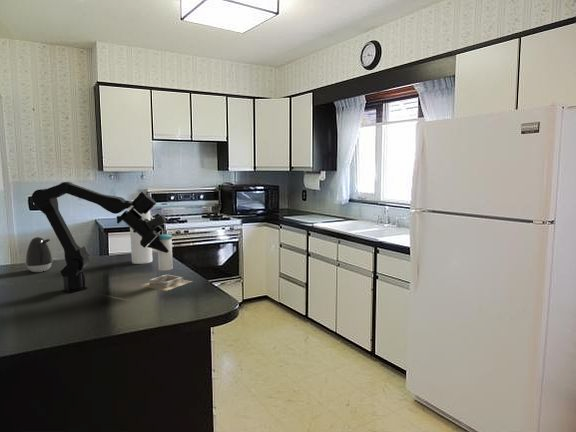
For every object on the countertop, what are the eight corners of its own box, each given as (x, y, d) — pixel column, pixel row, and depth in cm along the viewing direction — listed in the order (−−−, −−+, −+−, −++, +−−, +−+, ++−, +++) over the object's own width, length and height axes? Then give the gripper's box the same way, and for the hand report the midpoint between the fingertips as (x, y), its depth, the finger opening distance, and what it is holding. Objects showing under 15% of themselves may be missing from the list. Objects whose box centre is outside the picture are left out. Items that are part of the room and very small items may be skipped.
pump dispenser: (44, 273, 177) (42, 239, 175) (21, 273, 177) (18, 239, 176) (58, 268, 187) (55, 235, 186) (35, 268, 188) (33, 235, 186)
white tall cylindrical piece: (165, 271, 155) (164, 237, 153) (155, 269, 158) (153, 235, 156) (176, 267, 160) (175, 234, 158) (165, 266, 163) (164, 233, 161)
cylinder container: (155, 259, 203) (152, 198, 200) (147, 263, 194) (144, 200, 190) (137, 259, 204) (134, 198, 200) (128, 263, 195) (124, 200, 191)
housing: (166, 292, 150) (165, 285, 150) (139, 286, 157) (139, 280, 157) (192, 282, 162) (192, 276, 162) (167, 278, 169) (166, 272, 169)
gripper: (148, 210, 146) (181, 239, 149) (156, 205, 164) (185, 231, 167) (126, 232, 146) (159, 261, 149) (136, 225, 164) (166, 251, 167)
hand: (168, 250), depth 158 cm, fingers closed on white tall cylindrical piece, 5 cm apart
